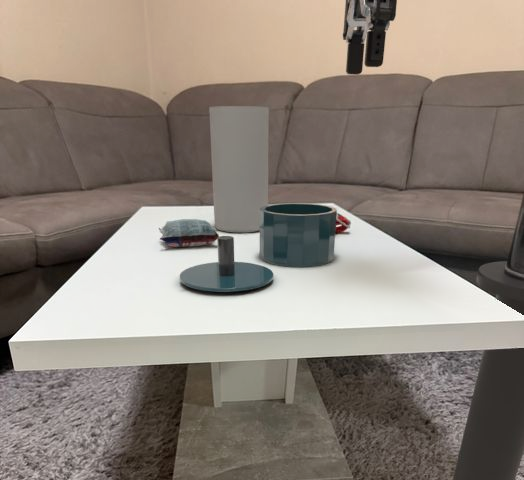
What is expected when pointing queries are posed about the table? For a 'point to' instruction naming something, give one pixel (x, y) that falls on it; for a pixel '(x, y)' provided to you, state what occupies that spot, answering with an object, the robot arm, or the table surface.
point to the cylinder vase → (239, 166)
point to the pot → (297, 234)
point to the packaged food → (188, 233)
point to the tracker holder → (342, 223)
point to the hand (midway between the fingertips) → (362, 70)
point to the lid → (226, 272)
